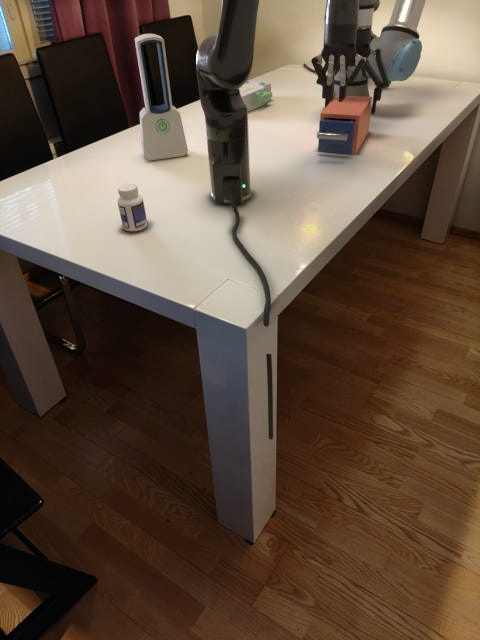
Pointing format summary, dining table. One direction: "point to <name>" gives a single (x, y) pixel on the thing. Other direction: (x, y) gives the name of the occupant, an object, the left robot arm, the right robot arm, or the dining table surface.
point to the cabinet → (351, 115)
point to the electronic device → (159, 110)
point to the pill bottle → (131, 208)
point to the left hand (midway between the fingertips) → (335, 100)
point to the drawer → (336, 135)
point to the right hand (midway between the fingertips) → (349, 111)
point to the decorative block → (255, 94)
